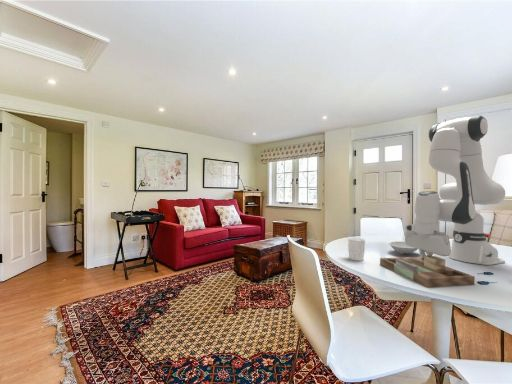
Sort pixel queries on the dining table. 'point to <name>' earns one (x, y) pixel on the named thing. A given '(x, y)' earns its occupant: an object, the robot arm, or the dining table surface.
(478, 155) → the robot arm
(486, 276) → the dining table surface
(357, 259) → the white cup
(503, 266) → the dining table surface
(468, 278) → the brown wooden compartment tray
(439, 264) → the maple block
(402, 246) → the dish
